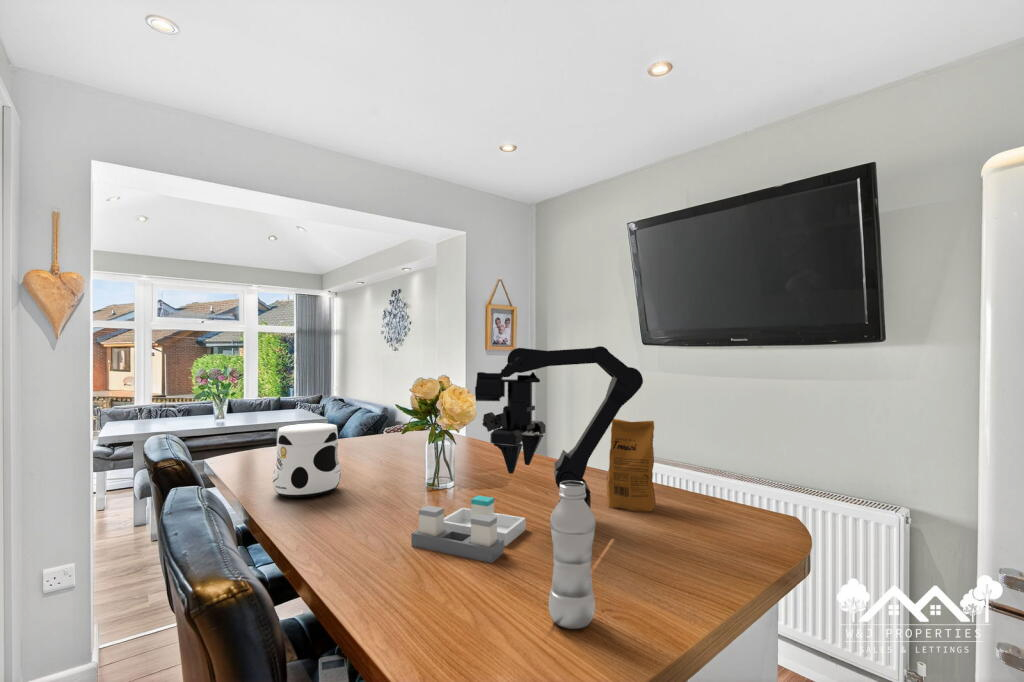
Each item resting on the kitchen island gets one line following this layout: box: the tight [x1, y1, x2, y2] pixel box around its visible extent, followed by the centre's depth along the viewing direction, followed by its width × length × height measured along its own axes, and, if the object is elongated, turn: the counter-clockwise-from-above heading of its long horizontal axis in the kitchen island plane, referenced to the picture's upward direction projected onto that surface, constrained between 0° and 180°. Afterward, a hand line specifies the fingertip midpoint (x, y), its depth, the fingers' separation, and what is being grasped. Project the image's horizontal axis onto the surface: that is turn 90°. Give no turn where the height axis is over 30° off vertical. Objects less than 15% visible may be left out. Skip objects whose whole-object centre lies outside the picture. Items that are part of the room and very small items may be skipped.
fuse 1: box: [418, 504, 445, 536], centre depth 97 cm, size 4×3×7 cm
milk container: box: [272, 422, 342, 498], centre depth 133 cm, size 17×17×18 cm
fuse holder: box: [411, 528, 505, 564], centre depth 94 cm, size 18×5×3 cm, turn 65°
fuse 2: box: [471, 514, 497, 547], centre depth 92 cm, size 4×3×7 cm
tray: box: [444, 507, 527, 547], centre depth 104 cm, size 16×10×3 cm, turn 65°
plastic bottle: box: [548, 481, 597, 630], centre depth 70 cm, size 6×7×20 cm
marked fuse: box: [470, 495, 495, 518], centre depth 104 cm, size 4×3×7 cm
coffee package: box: [606, 418, 657, 512], centre depth 124 cm, size 10×12×22 cm
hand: (519, 468), depth 112 cm, fingers open, 9 cm apart
